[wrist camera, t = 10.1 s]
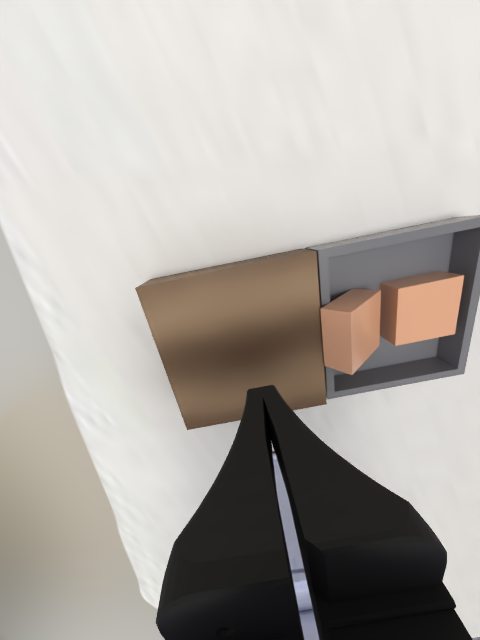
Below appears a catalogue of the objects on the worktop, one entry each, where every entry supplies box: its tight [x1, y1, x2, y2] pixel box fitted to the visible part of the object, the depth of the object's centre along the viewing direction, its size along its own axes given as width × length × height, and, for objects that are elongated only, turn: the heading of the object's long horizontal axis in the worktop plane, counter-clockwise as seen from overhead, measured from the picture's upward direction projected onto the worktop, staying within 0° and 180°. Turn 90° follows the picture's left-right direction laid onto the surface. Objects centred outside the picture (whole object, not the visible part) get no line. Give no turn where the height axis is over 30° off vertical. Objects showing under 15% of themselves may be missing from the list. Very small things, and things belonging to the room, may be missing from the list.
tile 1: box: [380, 271, 464, 346], centre depth 17 cm, size 4×4×2 cm
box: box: [306, 215, 480, 399], centre depth 17 cm, size 12×11×2 cm
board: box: [135, 249, 327, 430], centre depth 17 cm, size 12×12×3 cm
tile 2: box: [320, 289, 381, 375], centre depth 16 cm, size 4×4×2 cm
